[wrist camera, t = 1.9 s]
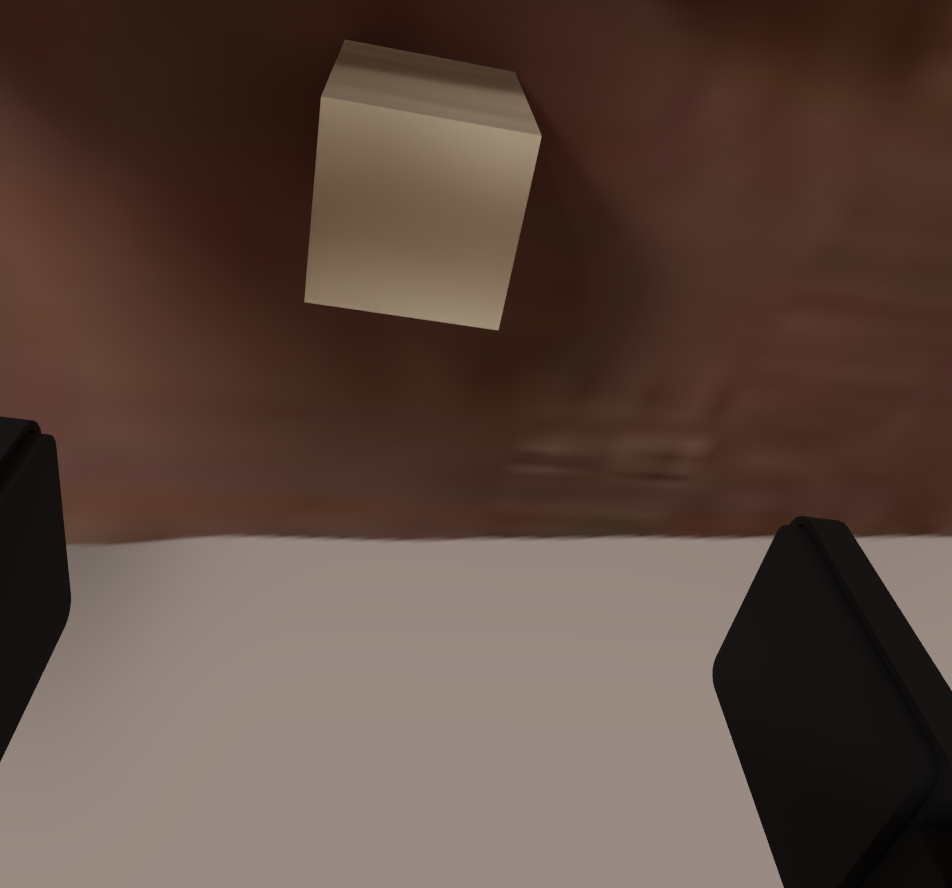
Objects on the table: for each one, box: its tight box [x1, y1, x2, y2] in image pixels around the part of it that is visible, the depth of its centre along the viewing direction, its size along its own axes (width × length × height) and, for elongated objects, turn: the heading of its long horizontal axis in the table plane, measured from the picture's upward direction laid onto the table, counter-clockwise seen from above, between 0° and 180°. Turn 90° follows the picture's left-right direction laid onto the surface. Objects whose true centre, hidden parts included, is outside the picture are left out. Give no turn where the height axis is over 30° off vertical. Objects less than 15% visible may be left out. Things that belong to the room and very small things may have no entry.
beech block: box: [304, 40, 542, 330], centre depth 24 cm, size 5×5×7 cm
